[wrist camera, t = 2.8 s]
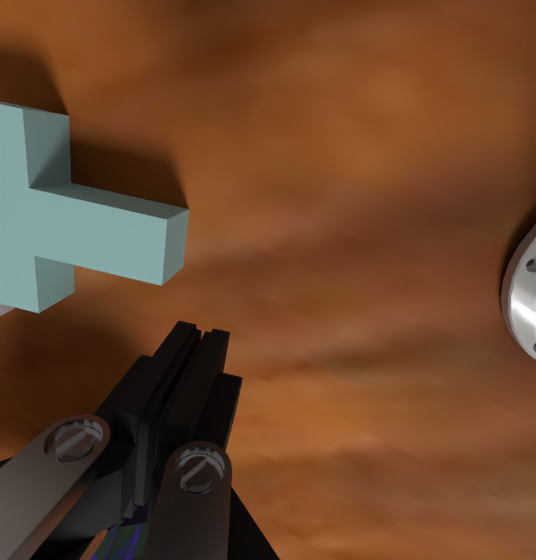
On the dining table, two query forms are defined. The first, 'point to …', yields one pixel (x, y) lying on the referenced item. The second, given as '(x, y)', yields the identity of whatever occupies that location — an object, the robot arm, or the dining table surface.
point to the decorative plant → (125, 538)
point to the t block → (71, 218)
